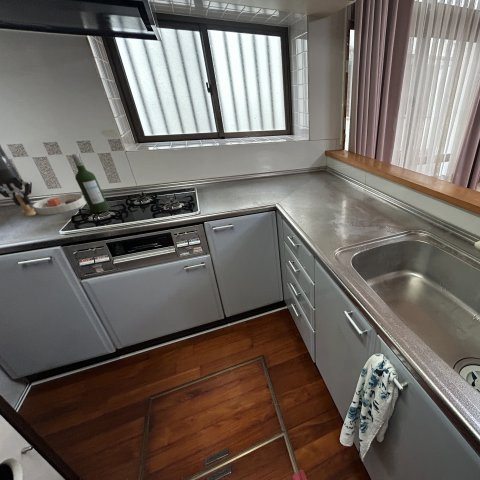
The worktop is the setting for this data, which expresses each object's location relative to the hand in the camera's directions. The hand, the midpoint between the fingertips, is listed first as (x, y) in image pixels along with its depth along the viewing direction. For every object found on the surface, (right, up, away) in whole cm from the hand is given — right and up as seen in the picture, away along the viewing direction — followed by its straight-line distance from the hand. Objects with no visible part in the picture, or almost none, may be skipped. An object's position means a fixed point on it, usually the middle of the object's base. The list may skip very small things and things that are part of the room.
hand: (24, 204), depth 123 cm
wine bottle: (+17, -1, +22) cm, 28 cm away
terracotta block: (-13, +3, +27) cm, 30 cm away
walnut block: (-1, +2, +26) cm, 26 cm away
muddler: (0, -4, +3) cm, 5 cm away
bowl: (-7, +1, +26) cm, 27 cm away
